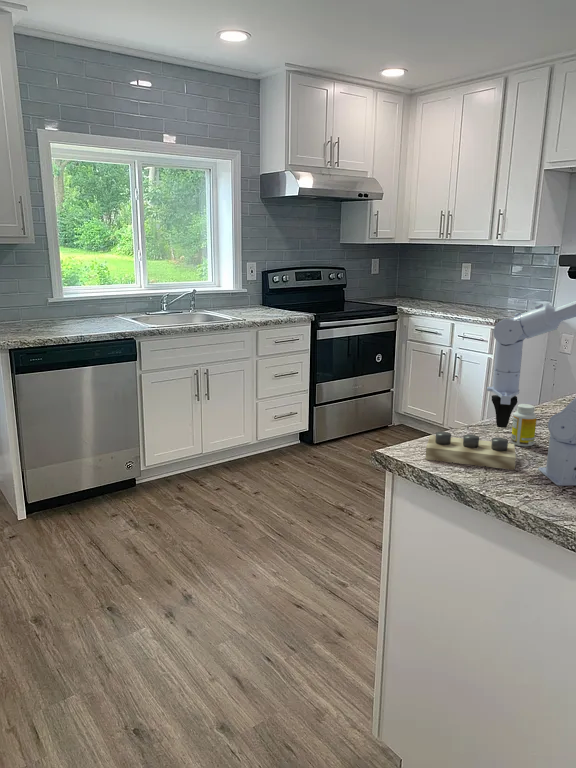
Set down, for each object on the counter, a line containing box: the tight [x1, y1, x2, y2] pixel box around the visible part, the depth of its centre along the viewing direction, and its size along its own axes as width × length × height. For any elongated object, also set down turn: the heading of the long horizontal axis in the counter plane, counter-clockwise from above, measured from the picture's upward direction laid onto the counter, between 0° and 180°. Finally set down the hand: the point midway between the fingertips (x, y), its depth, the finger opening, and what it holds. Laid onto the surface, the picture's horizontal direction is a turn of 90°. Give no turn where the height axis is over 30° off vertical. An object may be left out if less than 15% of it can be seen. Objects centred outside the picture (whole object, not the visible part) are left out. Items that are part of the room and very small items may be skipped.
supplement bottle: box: [510, 403, 538, 447], centre depth 148 cm, size 6×6×10 cm
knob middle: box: [463, 434, 480, 448], centre depth 139 cm, size 4×4×5 cm
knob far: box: [435, 431, 452, 445], centre depth 141 cm, size 4×4×5 cm
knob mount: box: [425, 434, 517, 471], centre depth 139 cm, size 20×10×3 cm, turn 71°
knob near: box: [491, 437, 509, 451], centre depth 137 cm, size 4×4×5 cm
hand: (501, 426), depth 136 cm, fingers closed
